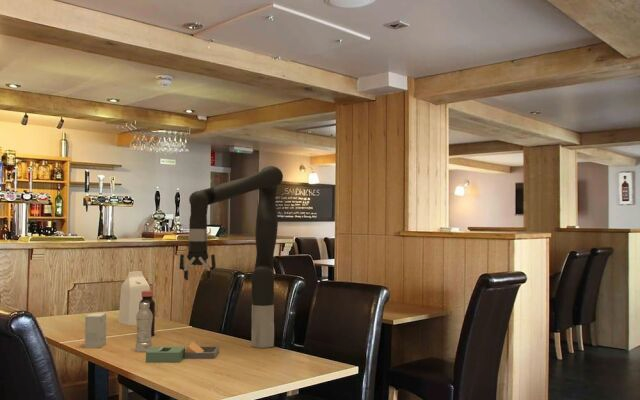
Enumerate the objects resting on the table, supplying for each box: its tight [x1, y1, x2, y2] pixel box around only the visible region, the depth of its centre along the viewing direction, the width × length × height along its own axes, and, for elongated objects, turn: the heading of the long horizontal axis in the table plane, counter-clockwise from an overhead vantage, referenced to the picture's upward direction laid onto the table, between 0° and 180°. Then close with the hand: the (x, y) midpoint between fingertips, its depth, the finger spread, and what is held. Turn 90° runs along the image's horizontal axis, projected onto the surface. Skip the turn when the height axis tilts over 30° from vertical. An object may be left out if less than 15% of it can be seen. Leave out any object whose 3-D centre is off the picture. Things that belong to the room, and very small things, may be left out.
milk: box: [118, 270, 151, 326], centre depth 308 cm, size 12×12×26 cm
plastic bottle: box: [135, 302, 154, 353], centre depth 237 cm, size 6×7×20 cm
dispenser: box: [145, 345, 186, 364], centre depth 222 cm, size 12×10×5 cm
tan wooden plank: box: [185, 341, 204, 353], centre depth 229 cm, size 2×6×9 cm
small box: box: [84, 312, 107, 349], centre depth 251 cm, size 8×6×13 cm
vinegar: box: [139, 290, 156, 337], centre depth 275 cm, size 7×7×20 cm
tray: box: [183, 345, 220, 360], centre depth 229 cm, size 11×12×4 cm
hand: (197, 280), depth 246 cm, fingers open, 8 cm apart
